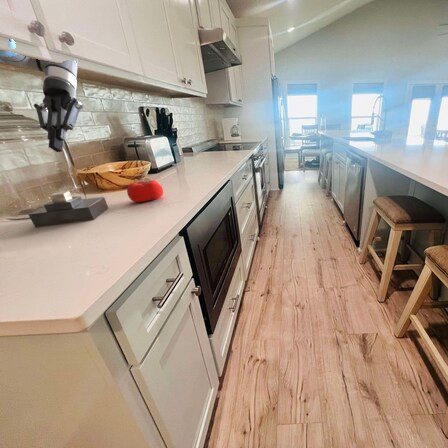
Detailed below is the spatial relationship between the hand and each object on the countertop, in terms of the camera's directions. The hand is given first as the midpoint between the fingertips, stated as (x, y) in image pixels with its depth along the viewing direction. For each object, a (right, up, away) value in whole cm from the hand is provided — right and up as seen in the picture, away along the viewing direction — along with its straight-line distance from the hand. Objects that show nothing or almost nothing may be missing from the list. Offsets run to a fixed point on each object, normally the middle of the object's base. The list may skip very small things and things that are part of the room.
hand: (55, 149), depth 72 cm
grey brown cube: (+5, -16, -2) cm, 17 cm away
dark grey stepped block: (+4, -20, +2) cm, 21 cm away
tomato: (+18, -14, +15) cm, 28 cm away
